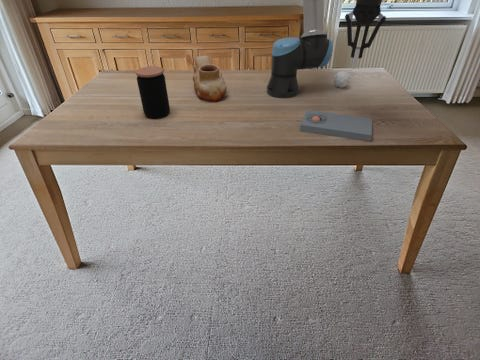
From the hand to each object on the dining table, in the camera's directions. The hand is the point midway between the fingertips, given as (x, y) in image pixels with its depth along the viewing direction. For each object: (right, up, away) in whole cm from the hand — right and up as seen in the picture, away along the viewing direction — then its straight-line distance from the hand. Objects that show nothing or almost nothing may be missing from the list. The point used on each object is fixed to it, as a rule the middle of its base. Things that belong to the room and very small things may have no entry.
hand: (353, 67), depth 110 cm
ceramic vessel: (-56, +1, +37) cm, 67 cm away
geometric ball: (+9, +5, +41) cm, 42 cm away
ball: (-12, -18, +8) cm, 23 cm away
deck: (-4, -21, +7) cm, 22 cm away
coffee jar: (-76, -13, +19) cm, 79 cm away
